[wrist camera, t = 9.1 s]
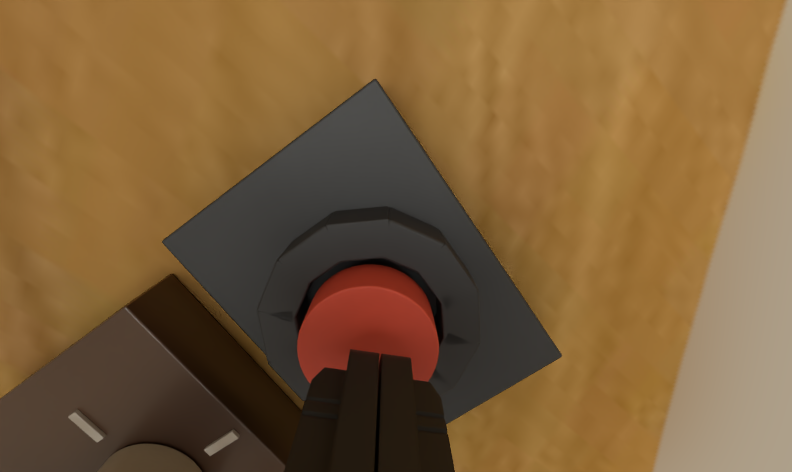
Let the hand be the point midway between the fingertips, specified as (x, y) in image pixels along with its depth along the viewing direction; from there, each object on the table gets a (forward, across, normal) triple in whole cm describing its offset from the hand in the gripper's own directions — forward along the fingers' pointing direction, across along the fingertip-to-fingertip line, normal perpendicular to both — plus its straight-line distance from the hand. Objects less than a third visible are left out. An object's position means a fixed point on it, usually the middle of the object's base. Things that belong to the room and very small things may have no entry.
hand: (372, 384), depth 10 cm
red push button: (+3, 0, 0) cm, 3 cm away
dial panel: (+7, +7, +8) cm, 13 cm away
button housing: (+7, 0, 0) cm, 7 cm away
